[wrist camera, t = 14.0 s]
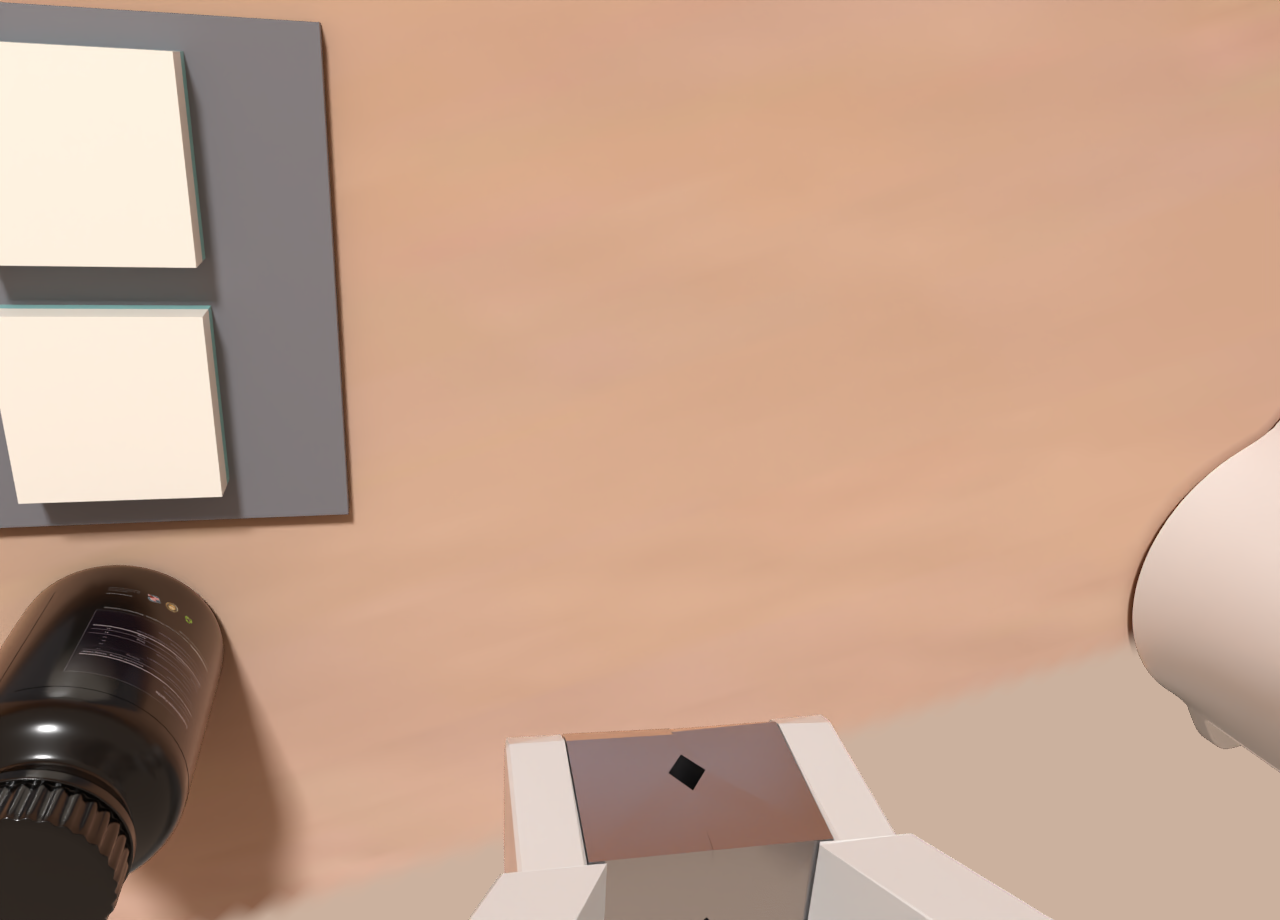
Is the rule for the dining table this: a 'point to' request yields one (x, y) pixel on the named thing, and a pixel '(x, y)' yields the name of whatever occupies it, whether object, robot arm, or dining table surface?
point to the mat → (227, 261)
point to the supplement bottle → (98, 735)
